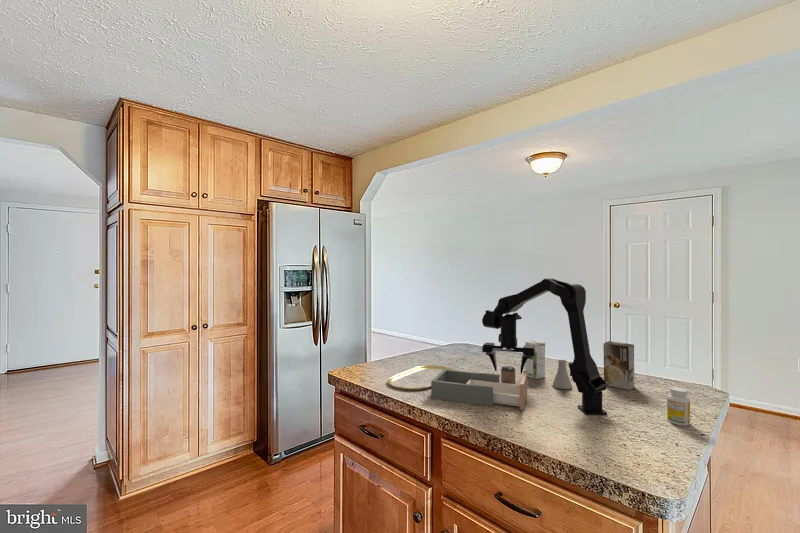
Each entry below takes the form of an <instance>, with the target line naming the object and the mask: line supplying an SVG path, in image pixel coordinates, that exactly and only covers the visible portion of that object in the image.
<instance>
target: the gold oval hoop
mask: <svg viewBox="0 0 800 533" xmlns="http://www.w3.org/2000/svg"><path fill="white" fill-rule="evenodd" d="M444 369H447V370H455V369H453V368H452V367H448V366H443V365H434V364H433V365H432V364H431V365H421V366H416V367H414V368H413V367H412V368H411V369H408V370H406V371H403V372H401V373H398V374H395V375H393V376H391V377H389V378H388V380H387V383H388V384H389V386H391V387H392V388H394V389H397V390H401V391H411V392H413V391H415V392H416V391H424V390H429V389H431V385H428V386H425V387H424V386H422V387H402V386H397V385H393V382H395V381H397V380H400V379H402V378H404V377H407V376H409V375H411V374H414V373H416V372H419V371H421V370H422V371H423V370H441V371H443V370H444Z"/></svg>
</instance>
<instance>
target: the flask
mask: <svg viewBox="0 0 800 533" xmlns="http://www.w3.org/2000/svg"><path fill="white" fill-rule="evenodd" d="M557 362H558V365H557V366H558V367H557V370H556V371H557V372H556V373H555V377H554V379H553V382H552V384H551V386H552V387H553V388H556V389H561V390H571V389H573V384H572V382H571V379H570V375H569V373H568V370H567V365H566V364H567V362H568V360H566V359H557Z"/></svg>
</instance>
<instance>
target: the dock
mask: <svg viewBox="0 0 800 533" xmlns="http://www.w3.org/2000/svg"><path fill="white" fill-rule="evenodd" d="M470 379H472V380H481V381H490V382H499V383H500V374H497V373H496V374H495V373H484V372H477V371H476V372H474V371H465V370H457V369H456V370H455V369H454V370H447V369H444V370H441V371H440V372H439V373H438V374H437V375H436V376H435V377H434V378H433V379H432V380H431V384H430V386H431V388H430V390H431V392H430V393H431V394H430V395H431V399H432V400H439V401H447V402H448V401H449V402H454V403H455V402H456V403H462V404H468V405H477V406H483V407H484V406H485V407H489V408H490V407H491V408H493V407H494V403H493V387H487V386H479V385H470V384H466V383H467V382H468V381H469V380H470Z"/></svg>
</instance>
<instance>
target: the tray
mask: <svg viewBox="0 0 800 533" xmlns="http://www.w3.org/2000/svg"><path fill="white" fill-rule="evenodd" d="M466 384H470V385H479V386H487V387H493V404H498V405H504V406H505V405H506V406H511V407H512V406H514V407H519V410H521V411H524V410H525V406H526V402H527V397H528V376H527V371H525V370H523V371H522V375H521V379H520V381H519V384H516V383H515V384H508V383H501V382H500V381H499V382H490V381H481V380H472V379H470V380H469V381H468V382H467V383H466Z"/></svg>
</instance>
